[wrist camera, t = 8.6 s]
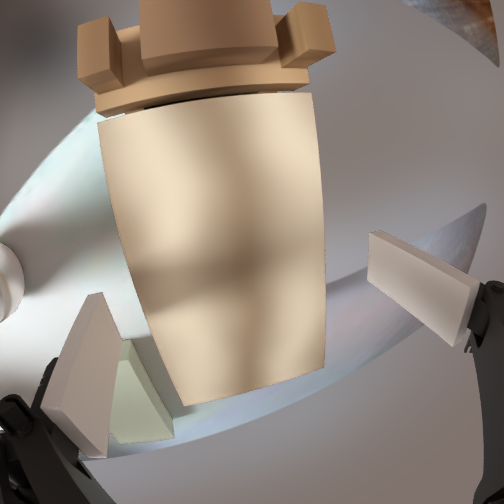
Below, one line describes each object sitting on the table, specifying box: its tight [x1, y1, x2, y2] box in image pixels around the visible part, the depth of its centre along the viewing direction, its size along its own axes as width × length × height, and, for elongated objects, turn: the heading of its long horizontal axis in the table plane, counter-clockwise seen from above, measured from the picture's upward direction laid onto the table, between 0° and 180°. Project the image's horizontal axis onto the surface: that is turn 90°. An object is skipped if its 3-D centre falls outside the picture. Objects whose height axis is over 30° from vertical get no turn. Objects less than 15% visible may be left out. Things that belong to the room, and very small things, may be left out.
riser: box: [109, 339, 174, 444], centre depth 24 cm, size 7×13×3 cm, turn 8°
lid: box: [97, 93, 326, 406], centre depth 15 cm, size 10×17×2 cm, turn 8°
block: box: [139, 0, 279, 77], centre depth 8 cm, size 5×3×2 cm, turn 98°
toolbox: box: [77, 2, 336, 118], centre depth 16 cm, size 10×22×12 cm, turn 8°
